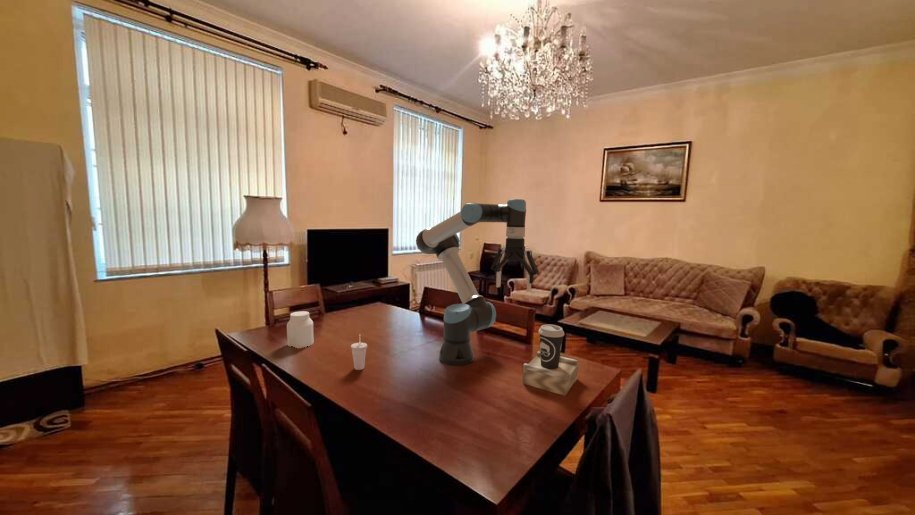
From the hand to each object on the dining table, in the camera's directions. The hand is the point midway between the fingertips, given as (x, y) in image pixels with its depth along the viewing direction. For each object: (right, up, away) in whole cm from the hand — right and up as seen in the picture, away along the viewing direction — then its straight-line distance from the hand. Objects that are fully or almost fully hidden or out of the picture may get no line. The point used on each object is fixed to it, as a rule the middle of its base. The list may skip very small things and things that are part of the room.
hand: (513, 289), depth 144 cm
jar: (-98, -29, +22) cm, 105 cm away
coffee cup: (+12, -29, -11) cm, 33 cm away
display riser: (+13, -34, -11) cm, 38 cm away
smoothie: (-63, -32, -2) cm, 71 cm away
